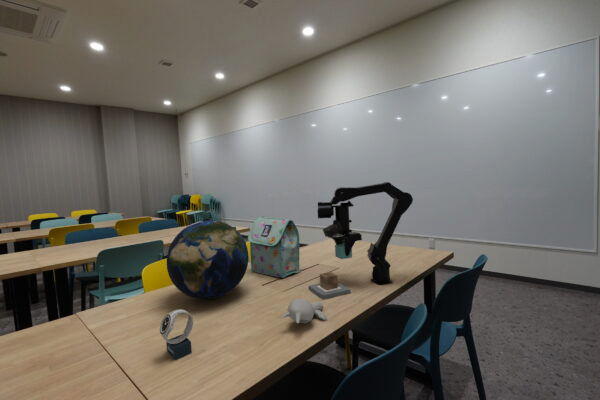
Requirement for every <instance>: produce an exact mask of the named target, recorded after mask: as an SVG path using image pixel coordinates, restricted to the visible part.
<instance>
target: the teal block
mask: <svg viewBox="0 0 600 400" xmlns="http://www.w3.org/2000/svg"><path fill="white" fill-rule="evenodd" d="M334 250H335V251H334V254H335V255H334V256H335V258H338V259H340V260H346V259H352V258H353V248H352V249H351V251H350V254H349V256H346V254H345V247H344V244H339V245H336V244H335V245H334Z"/></svg>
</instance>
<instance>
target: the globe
mask: <svg viewBox="0 0 600 400" xmlns="http://www.w3.org/2000/svg"><path fill="white" fill-rule="evenodd" d="M249 260H250V259H249V249H248V245H247V242H246V241H245V239H244V237H243V236H242V234H241V233H240V232H239V231H238V230H237V229H236V228H235V227H233V226H232V225H230V224H228V223H226V222H223V221H220V220H213V219H211V220H210V219H209V220H208V219H206V220H201V221H200V220H199V221H196V222H193V223H191V224H189V225H187V226H185V228H183V229H181V231H179V233H177V234H176V236H175V237H174V238H173V240H172V241H171V243H170V246H169V247H168V250H167V255H166V269H167V273H168V276H169V279H170V281H171V282H172V284H173V285H174V287H175V288H176V289H177V290H178V291H180V293H182V294H184V295H186V296H187V297H190V298H193V299H196V300H205V301H206V300H213V299H218V298H221V297H224V296H225V295H228V293H230V292H232V291H233V290H234V289H236V288H237V286H239V284H240V283H241V281H242V280H243V278H244V277H245V274H246V273H247V269H248V266H249Z"/></svg>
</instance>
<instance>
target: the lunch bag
mask: <svg viewBox="0 0 600 400" xmlns="http://www.w3.org/2000/svg"><path fill="white" fill-rule="evenodd" d="M247 241H248V242H249V247H250V249H249V250H250V251H249V252H250V270H251V272H254V273H258V274H263V275H267V276H272V277H276V278H286V277H288V276H289V275H292V274H297V273H298V274H299V273H300V271H301V269H300V232H299V230H298V228H297V225H296V223H295V222H294V220H292V219H285V218H277V217H266V216H261V217H256V219H255V220H254V222H253V223H252V226H251V228H250V231H249V233H248V236H247Z"/></svg>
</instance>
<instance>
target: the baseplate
mask: <svg viewBox="0 0 600 400" xmlns="http://www.w3.org/2000/svg"><path fill="white" fill-rule="evenodd" d="M308 290H309V291H311V292H312V293H313V294H315V295H316V296H317V297H318V298H321V300H327V299H332V298H335V297H340V296H345V295H348V294H349V295H350V294H351V292H352V290H351V288H350V287H347V286H345V285H343V284H342V283H340V282H338V288H335V289H331V290H325V289H323V288H322V287H320V282H318V283H315V284H310V285H308Z"/></svg>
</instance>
